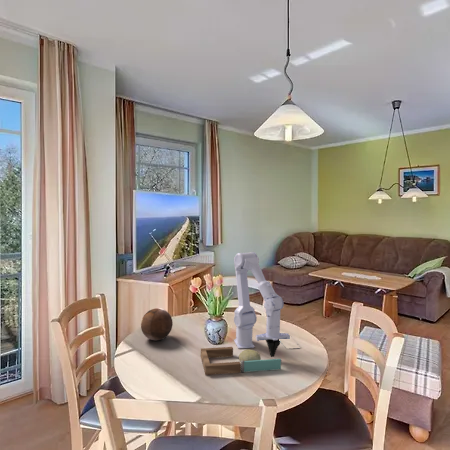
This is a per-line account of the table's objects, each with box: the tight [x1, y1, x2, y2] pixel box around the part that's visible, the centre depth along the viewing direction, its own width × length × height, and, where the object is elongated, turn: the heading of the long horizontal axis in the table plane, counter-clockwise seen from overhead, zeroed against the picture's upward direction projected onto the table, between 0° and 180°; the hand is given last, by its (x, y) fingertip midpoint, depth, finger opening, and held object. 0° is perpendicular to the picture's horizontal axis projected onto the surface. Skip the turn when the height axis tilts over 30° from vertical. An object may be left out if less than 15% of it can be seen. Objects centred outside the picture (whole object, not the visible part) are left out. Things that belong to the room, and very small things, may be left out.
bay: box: [200, 346, 242, 376], centre depth 137 cm, size 16×14×4 cm
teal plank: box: [240, 358, 282, 373], centre depth 132 cm, size 17×1×4 cm, turn 101°
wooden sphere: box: [140, 307, 173, 341], centre depth 160 cm, size 15×15×15 cm
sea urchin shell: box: [238, 348, 262, 363], centre depth 139 cm, size 9×8×8 cm
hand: (272, 356), depth 141 cm, fingers closed
